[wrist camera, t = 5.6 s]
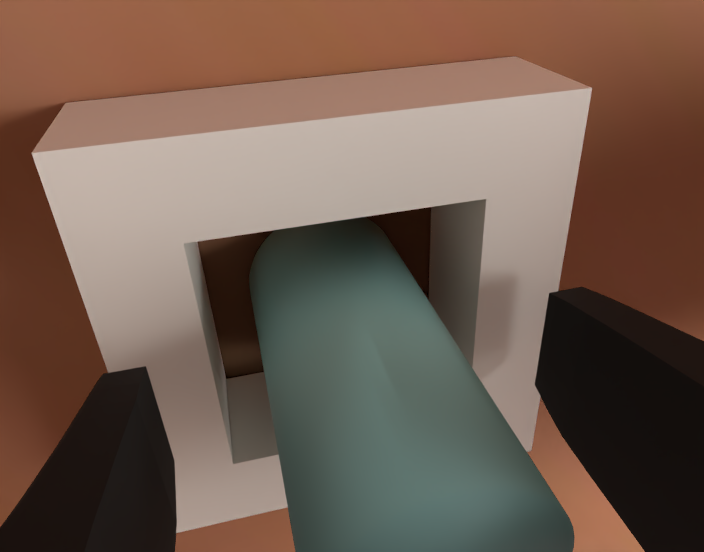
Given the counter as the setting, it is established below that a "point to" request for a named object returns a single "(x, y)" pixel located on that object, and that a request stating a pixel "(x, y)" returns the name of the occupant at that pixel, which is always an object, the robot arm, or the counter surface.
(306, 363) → the peg
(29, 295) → the counter surface
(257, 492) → the socket block
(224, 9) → the counter surface
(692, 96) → the counter surface
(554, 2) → the counter surface
